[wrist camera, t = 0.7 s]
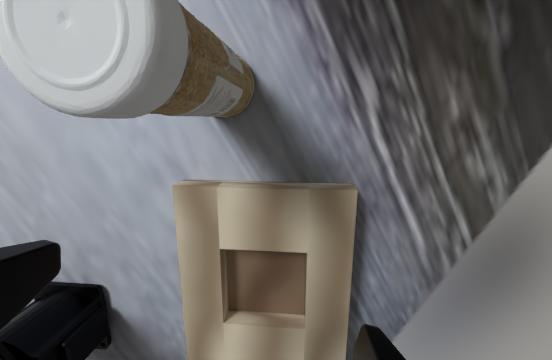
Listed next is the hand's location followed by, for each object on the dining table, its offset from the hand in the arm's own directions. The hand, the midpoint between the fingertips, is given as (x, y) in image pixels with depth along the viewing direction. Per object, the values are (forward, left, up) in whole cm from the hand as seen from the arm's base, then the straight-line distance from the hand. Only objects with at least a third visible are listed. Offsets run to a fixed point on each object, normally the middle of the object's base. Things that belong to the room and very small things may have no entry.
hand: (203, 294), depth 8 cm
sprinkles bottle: (-3, +7, -14) cm, 16 cm away
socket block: (0, -8, -13) cm, 16 cm away
